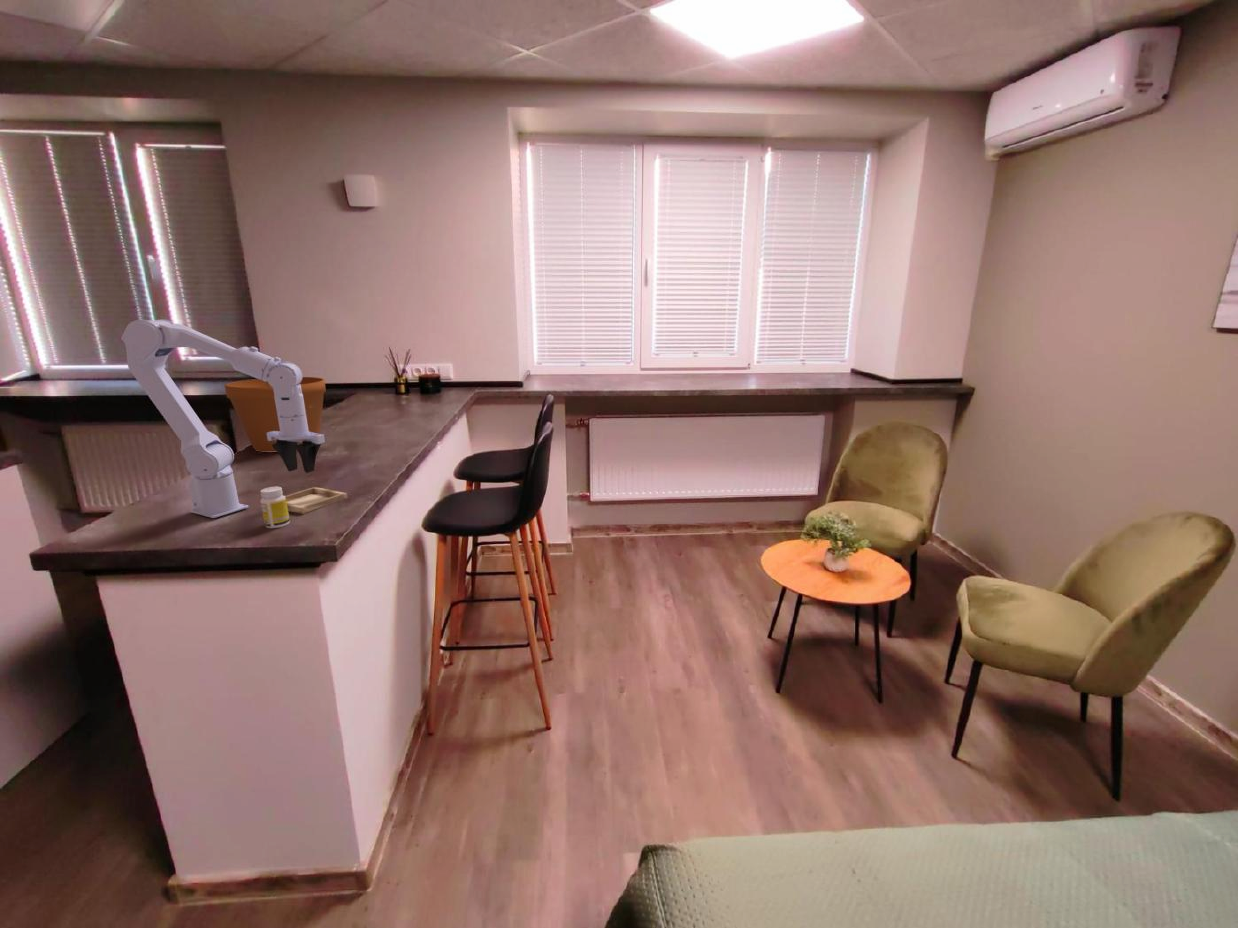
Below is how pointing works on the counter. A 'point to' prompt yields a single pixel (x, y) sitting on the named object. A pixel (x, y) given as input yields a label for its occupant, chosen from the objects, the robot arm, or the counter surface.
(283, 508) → the supplement bottle
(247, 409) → the flowerpot
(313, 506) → the tray
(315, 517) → the counter surface
